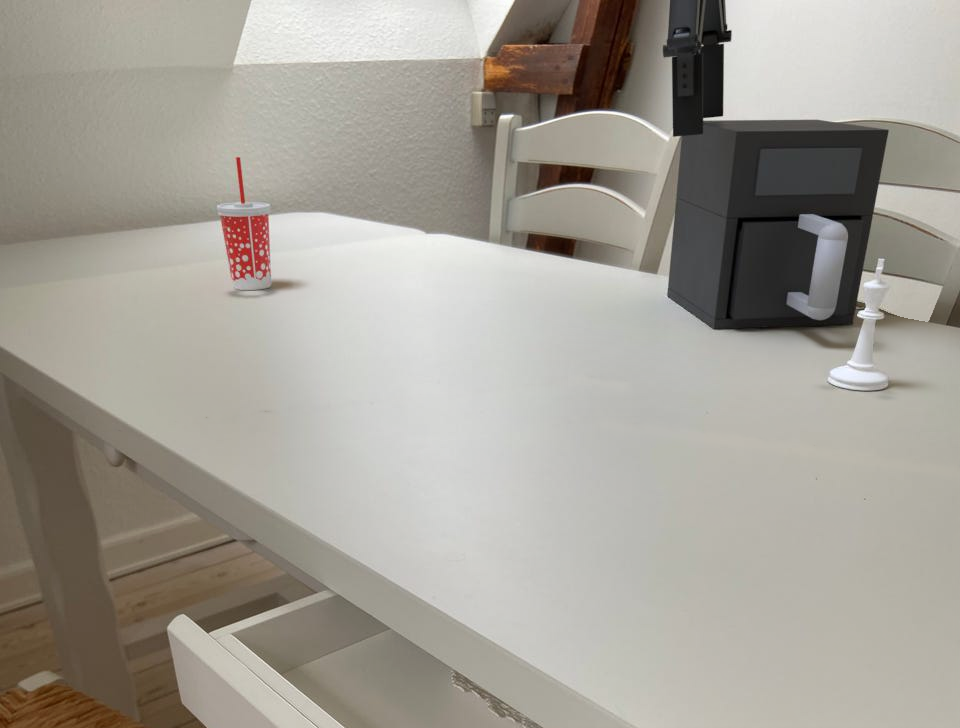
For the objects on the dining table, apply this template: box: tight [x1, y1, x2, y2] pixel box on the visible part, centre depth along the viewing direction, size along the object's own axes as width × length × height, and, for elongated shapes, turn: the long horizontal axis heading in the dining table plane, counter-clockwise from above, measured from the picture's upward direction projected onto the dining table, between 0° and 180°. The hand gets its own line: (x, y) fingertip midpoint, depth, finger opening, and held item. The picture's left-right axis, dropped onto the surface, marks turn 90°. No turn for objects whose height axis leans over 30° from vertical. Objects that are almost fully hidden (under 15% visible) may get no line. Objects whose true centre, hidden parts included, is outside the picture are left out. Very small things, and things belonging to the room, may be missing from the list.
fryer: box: [666, 119, 889, 330], centre depth 105 cm, size 16×15×18 cm
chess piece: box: [827, 258, 890, 392], centre depth 83 cm, size 5×5×10 cm
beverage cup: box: [216, 156, 272, 291], centre depth 117 cm, size 6×6×14 cm
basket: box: [727, 214, 863, 320], centre depth 102 cm, size 23×12×10 cm, turn 8°
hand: (699, 126), depth 99 cm, fingers open, 13 cm apart
